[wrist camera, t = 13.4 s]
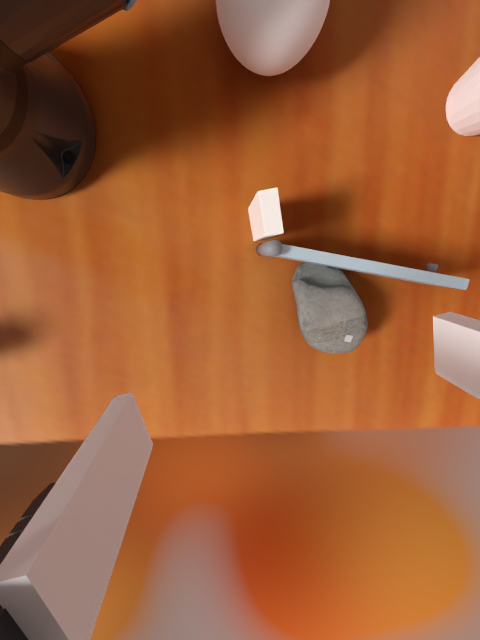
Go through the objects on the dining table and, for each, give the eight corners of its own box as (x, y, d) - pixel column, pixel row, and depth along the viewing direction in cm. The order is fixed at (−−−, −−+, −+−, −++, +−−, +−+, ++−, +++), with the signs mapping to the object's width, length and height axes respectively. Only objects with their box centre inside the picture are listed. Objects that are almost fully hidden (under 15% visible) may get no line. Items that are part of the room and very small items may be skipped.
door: (255, 254, 35) (264, 254, 27) (259, 233, 35) (270, 227, 26) (418, 284, 37) (473, 293, 29) (424, 265, 37) (482, 268, 29)
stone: (353, 257, 37) (389, 303, 29) (338, 309, 42) (365, 358, 35) (286, 260, 36) (305, 307, 29) (281, 312, 42) (295, 363, 35)
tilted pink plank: (248, 208, 34) (257, 191, 25) (262, 206, 34) (277, 187, 25) (253, 241, 35) (264, 236, 26) (267, 238, 35) (283, 233, 26)
